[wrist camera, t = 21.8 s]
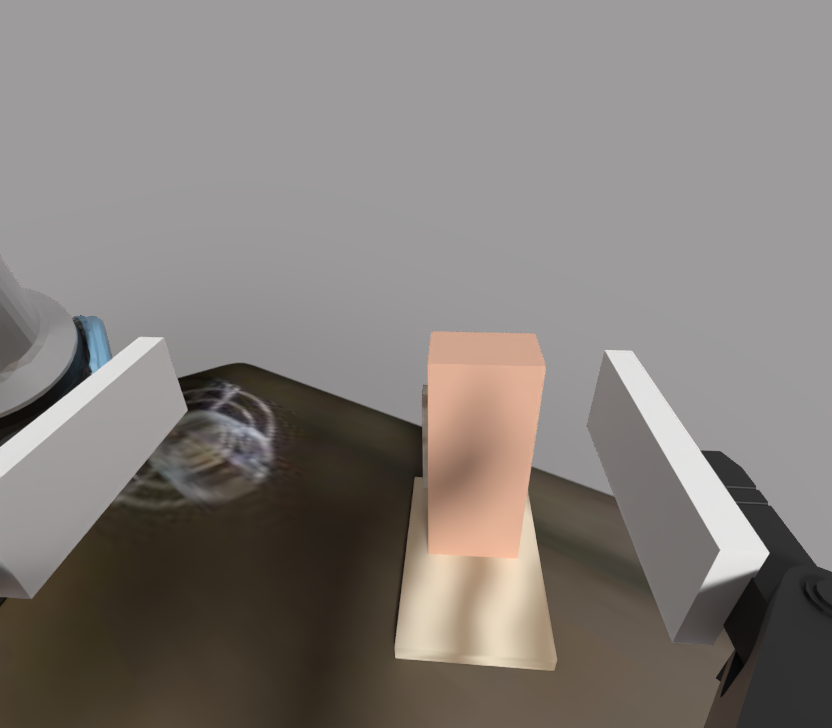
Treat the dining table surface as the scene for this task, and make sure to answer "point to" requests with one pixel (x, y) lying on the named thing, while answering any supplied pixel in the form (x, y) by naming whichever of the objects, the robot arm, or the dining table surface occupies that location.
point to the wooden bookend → (471, 597)
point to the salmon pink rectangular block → (481, 439)
